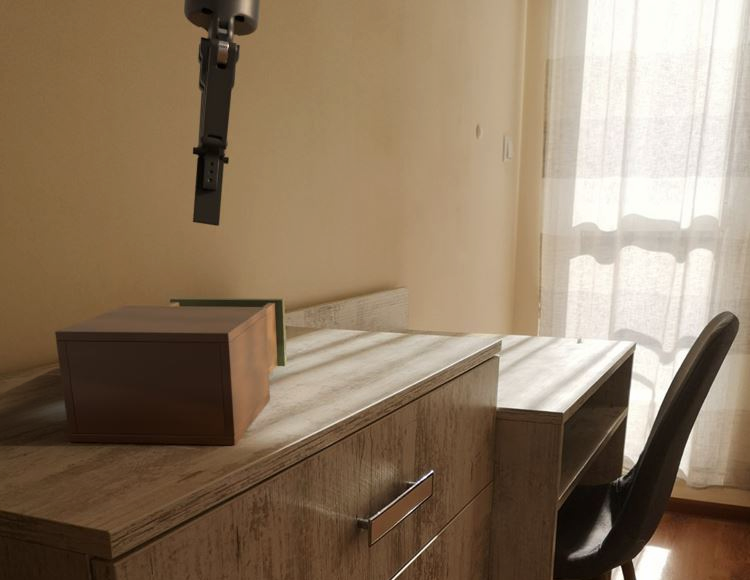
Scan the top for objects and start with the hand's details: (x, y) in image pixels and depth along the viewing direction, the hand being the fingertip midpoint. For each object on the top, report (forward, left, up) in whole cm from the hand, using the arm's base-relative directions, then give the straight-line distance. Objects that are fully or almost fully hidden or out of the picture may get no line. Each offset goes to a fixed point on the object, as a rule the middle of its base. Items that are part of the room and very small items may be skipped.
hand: (205, 223), depth 89 cm
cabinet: (+16, -5, -17) cm, 24 cm away
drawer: (0, +1, -16) cm, 16 cm away
